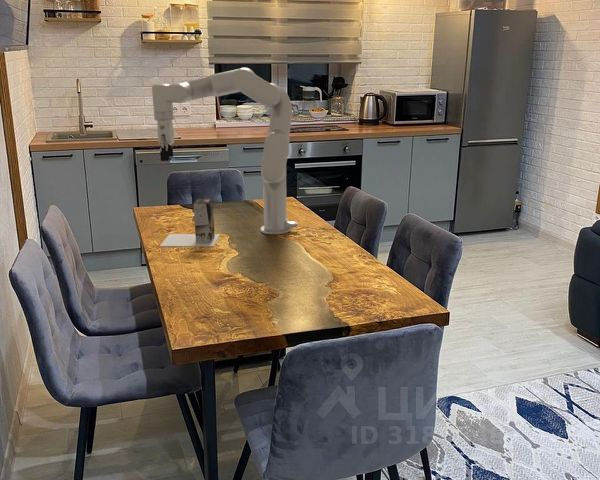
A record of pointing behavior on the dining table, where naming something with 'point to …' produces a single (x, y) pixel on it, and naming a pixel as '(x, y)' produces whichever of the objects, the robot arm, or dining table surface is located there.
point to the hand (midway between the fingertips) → (167, 158)
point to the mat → (186, 241)
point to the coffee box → (204, 220)
